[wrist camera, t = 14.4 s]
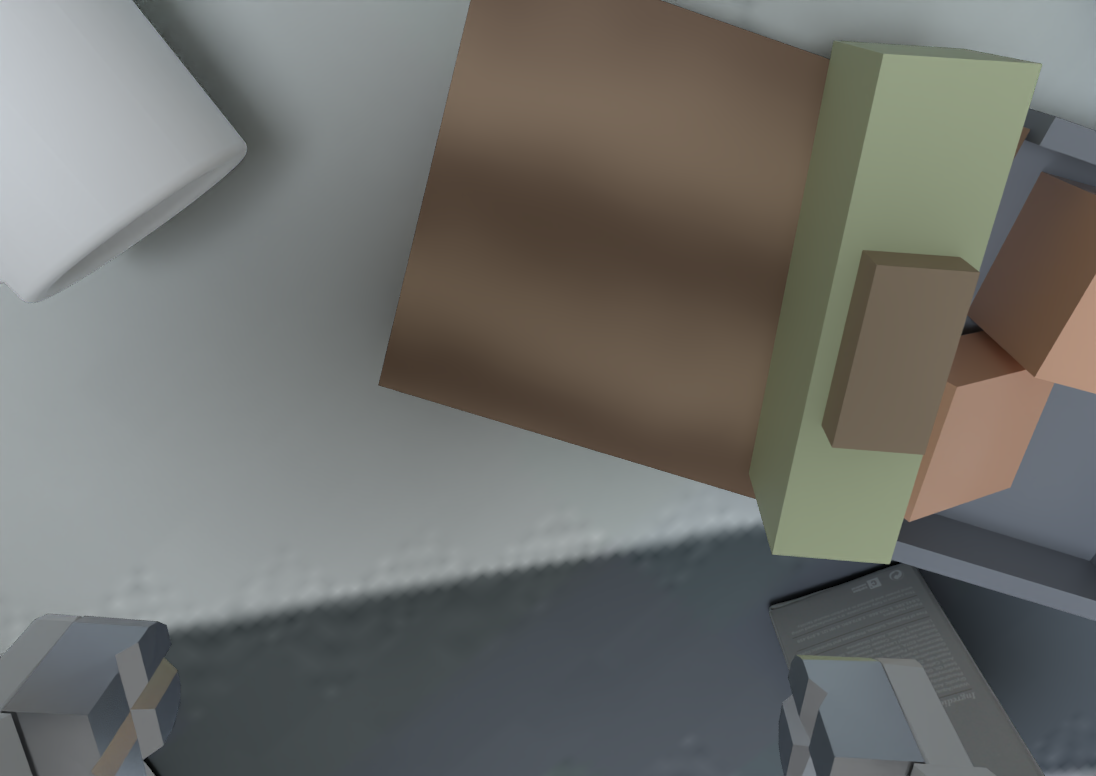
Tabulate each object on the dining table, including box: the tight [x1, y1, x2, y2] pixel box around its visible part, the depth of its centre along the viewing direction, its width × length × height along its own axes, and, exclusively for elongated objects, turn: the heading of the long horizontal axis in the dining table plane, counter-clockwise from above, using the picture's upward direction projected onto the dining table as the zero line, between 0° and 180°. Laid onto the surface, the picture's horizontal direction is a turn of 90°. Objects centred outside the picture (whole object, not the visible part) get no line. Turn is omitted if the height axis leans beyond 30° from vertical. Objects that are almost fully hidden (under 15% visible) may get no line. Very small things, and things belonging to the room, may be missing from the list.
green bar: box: [749, 41, 1042, 564], centre depth 23 cm, size 14×4×6 cm, turn 177°
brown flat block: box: [379, 0, 1031, 499], centre depth 27 cm, size 14×16×3 cm
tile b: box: [967, 172, 1096, 394], centre depth 25 cm, size 5×5×2 cm
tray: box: [891, 109, 1096, 621], centre depth 28 cm, size 15×13×4 cm
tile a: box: [904, 331, 1054, 522], centre depth 27 cm, size 5×5×2 cm
